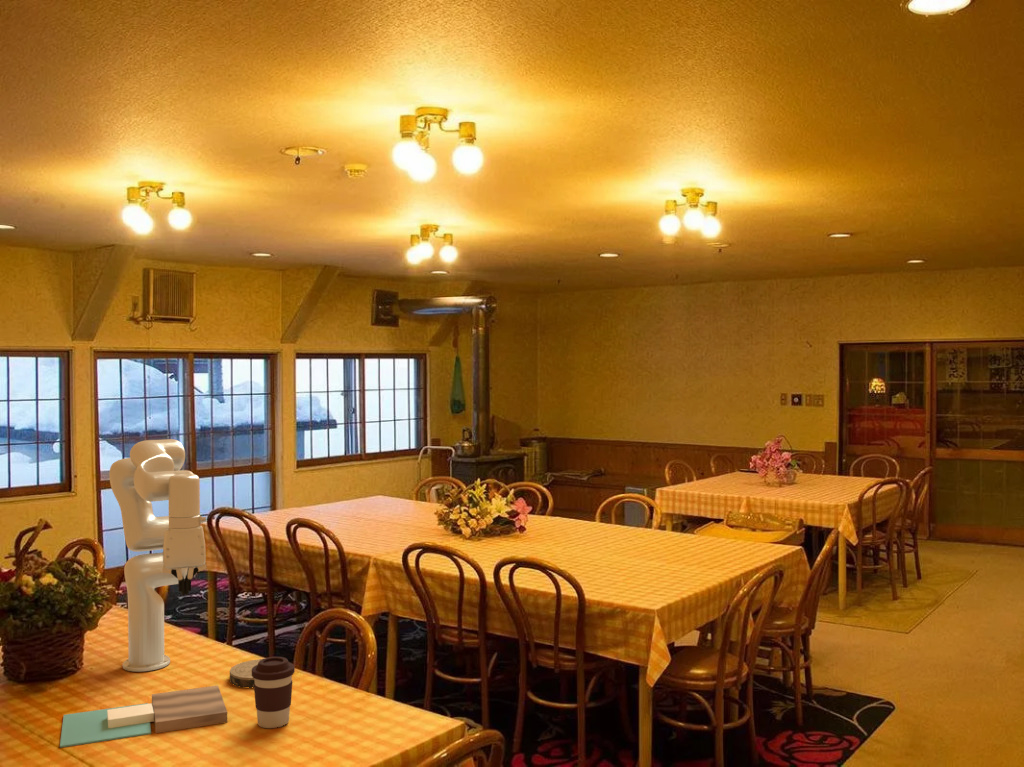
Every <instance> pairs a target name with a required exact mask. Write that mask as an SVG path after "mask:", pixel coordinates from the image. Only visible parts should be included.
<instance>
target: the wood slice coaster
mask: <svg viewBox="0 0 1024 767" xmlns="http://www.w3.org/2000/svg"><path fill="white" fill-rule="evenodd" d="M262 659H263V658H258V659H252V660H251V659H250V660H247V661H243V662H240V663H237V664H235V665H233V666H232V667H231V668H230V670H229V683H230V684H231V683H232V684H231V685H233V684H234V685H236V686H235V687H238V686H240V687H239V688H243V687H249V688H248V689H254V683H255V680H254V678H253V677H252V668H253V667H254V666H256V665H258V662H259V661H260V660H262ZM234 685H233V686H234ZM252 687H253V688H252Z"/></svg>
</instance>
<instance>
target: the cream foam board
mask: <svg viewBox="0 0 1024 767" xmlns="http://www.w3.org/2000/svg"><path fill="white" fill-rule="evenodd" d="M143 704H144V705H138V704H136V705H137V706H131V705H129V706H130V707H124V706H122V707H123V708H117V709H110V710H107V720H108V728H115V727H121V726H127V725H134V724H140V723H146V722H150V723H152V722H153V723H154V711H153V707H152V702H151V703H148V704H145V703H143Z"/></svg>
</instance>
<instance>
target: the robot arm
mask: <svg viewBox="0 0 1024 767" xmlns="http://www.w3.org/2000/svg"><path fill="white" fill-rule="evenodd" d="M185 460H186V450H185V448H184V446H183V444H182V443H181V442H180V441H179V440H177V439H174V438H169V439H168V438H166V439H146V440H141V441H139V442H137V443H135V444H134V445H133V446H132V447H131V449H130V451H129V457H126V458H121V459H117V460H116V461H114V462H113V463H112V464H111V466H110V468H109V472H108V473H109V483H110V487H111V490H112V493H113V495H114V497H115V499H116V502H117V503H118V506H119V509H120V512H121V520H122V528H123V533H124V539H125V544H126V547H127V548H128V550H129V551H131V552H134V553H135V552H138V553H139V552H149V551H159V550H160V551H161V550H162V552H155V553H144V554H139V555H135V556H133V557H131V558H130V559H128V560H127V561H126V563H125V564H124V568H123V571H124V573H123V574H124V579H125V580H124V581H125V584H126V585H125V586H126V591H127V616H128V617H127V620H128V621H127V624H128V625H127V627H128V630H127V631H128V632H127V634H128V635H127V638H128V641H127V642H128V650H127V651H128V652H127V653H128V659H125V661H124V662H122V669H123V670H125V671H128V672H132V673H133V672H134V673H135V672H137V673H139V672H140V673H141V672H150V671H154V670H160V669H162V668H165V667H167V666H168V665H169V664H170V663H171V658H170V656H168V655H166V654H165V602H164V600H163V598H162V596H161V595H160V594H158V592H157V590H155V589H156V588H159V587H164V586H165V587H166V586H171V585H172V586H173V585H177V587H178V589H177V590H178V593H180V594H181V596H182V597H183V596H189V594H190V593H189V592H192V579H193V578H194V576H195V575H196V574H197V573H199V572H203V571H205V570H207V568H208V566H207V563H206V559H207V558H206V557H207V556H206V552H207V550H206V540H205V533H204V527H203V526H202V525H201V524H202V523H206V522H207V519H206V518H207V517H206V516H202V515H201V510H200V509H201V504H200V503H201V492H200V491H201V490H200V488H201V485H200V483H201V482H200V477H199V475H197V474H195V473H193V472H192V471H190V470H186V469H184V470H181V469H182V468H183V465H184V464H185ZM160 501H161V502H163V501H168V515H166V516H165V515H164V516H155V514H154V510H153V504H152V502H160Z"/></svg>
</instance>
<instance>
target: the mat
mask: <svg viewBox="0 0 1024 767" xmlns="http://www.w3.org/2000/svg"><path fill="white" fill-rule="evenodd" d="M144 704H149V703H148V702H146V703H140V704H139V703H138V704H131V705H124V706H118V707H111V708H110V707H108V708H104V709H95V710H90V711H89V710H88V711H83V712H82V711H80V712H74V713H67V714H63V718H62V726H61V733H60V734H61V735H60V741H59V742H60V743H59V748H66V747H68V748H69V747H75V746H80V745H87V744H88V745H89V744H94V743H99V742H106V741H111V740H112V741H113V740H118V739H119V740H120V739H127V738H133V737H139V736H146V735H152V728H151V722H146V723H140V724H134V725H127V726H121V727H115V728H108V720H107V710H110V709H117V708H123V707H130V706H137V705H144Z"/></svg>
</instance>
